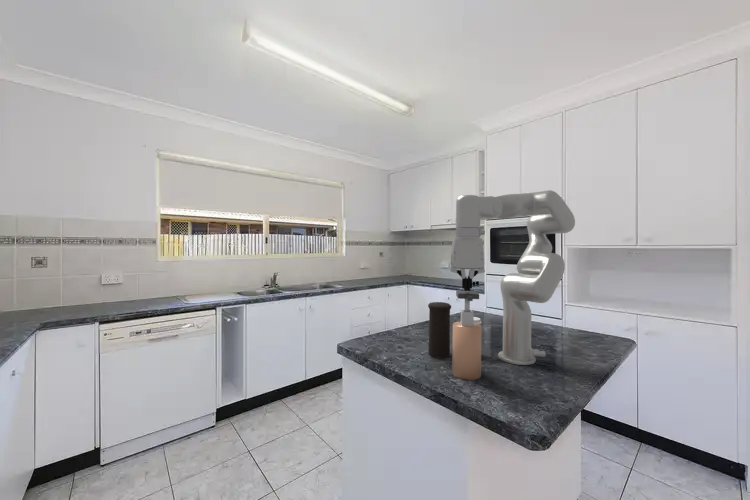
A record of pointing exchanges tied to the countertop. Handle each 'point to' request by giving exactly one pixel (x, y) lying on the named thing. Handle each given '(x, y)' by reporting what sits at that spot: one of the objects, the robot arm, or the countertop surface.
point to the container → (439, 329)
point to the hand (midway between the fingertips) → (466, 290)
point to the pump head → (467, 297)
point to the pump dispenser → (466, 347)
